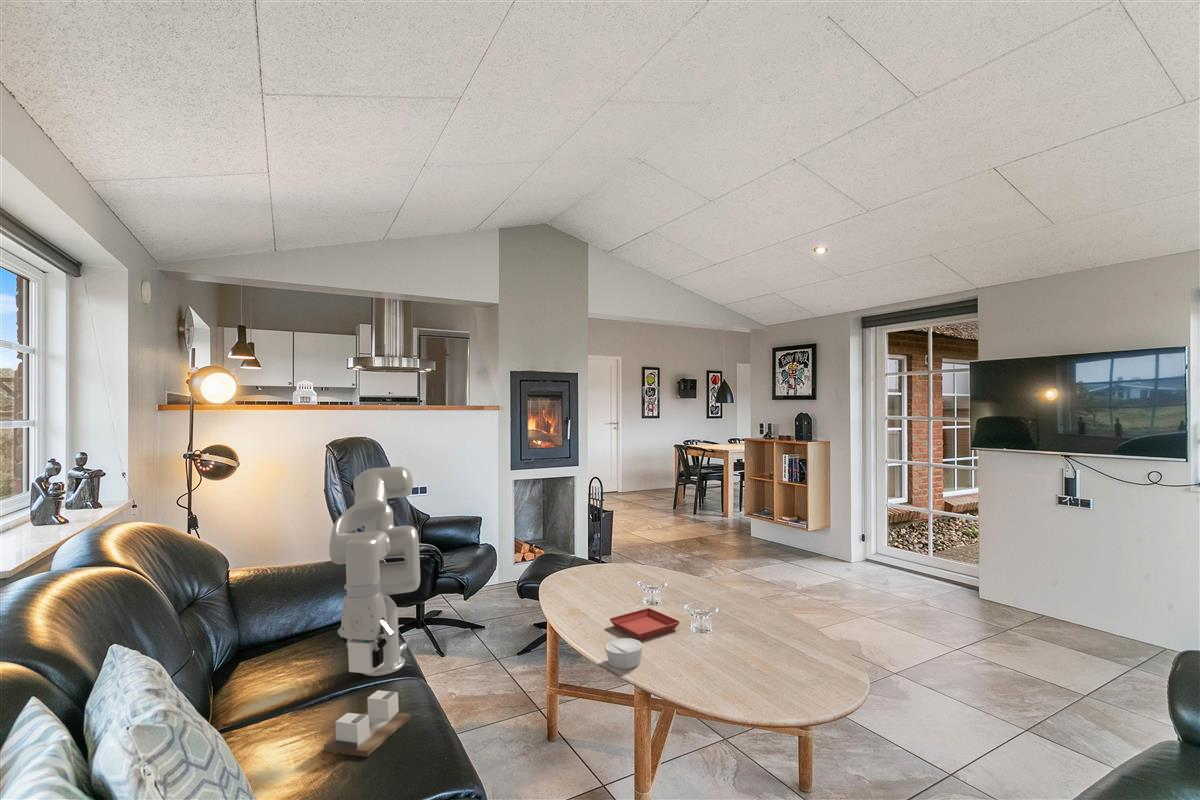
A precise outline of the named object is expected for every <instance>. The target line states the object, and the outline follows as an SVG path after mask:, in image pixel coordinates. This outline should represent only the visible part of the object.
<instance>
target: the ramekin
mask: <svg viewBox="0 0 1200 800" xmlns="http://www.w3.org/2000/svg"><path fill="white" fill-rule="evenodd" d="M643 646H644V645H643V643H642V642H641V641H640V640H639V639H636V638H630V637H628V638H627V637H623V638H622V637H620V638H615V639H612V640H610V641H608V642H607V643H606V644H605V646H604V650H605V652H606V656H607V661H608V663H609V665H610V666H611V667H613V668H615V669H618V670H629V669H633V668H636V667H637V666H639V664H640V663H641V661H642V653H643V652H642V651H643V649H644V648H643Z"/></svg>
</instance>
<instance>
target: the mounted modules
mask: <svg viewBox="0 0 1200 800" xmlns="http://www.w3.org/2000/svg"><path fill="white" fill-rule="evenodd" d="M366 700H367V711H368V715H363V714H364V713H362V714H361V713H353V712H347V713H345V714H344V715H342V716H341V717H340V718H338V719H337V720H336V721H335V723H334V724H335V736H336V740H339V741H347V742H354V743H357V746H358V745H359V744H361V743H362V742H363V741H364V740H365V739H367V738H368V737H369V736H370V732H369V718H377V719H385V720H389V719H390V718H392V717H393V716H394V715H395V714H396V713H398V712H399V713H400V707H399V693H398V691H397V692H396V691H395V692H394V691H389V690H388V691H387V690H379V689H378V690H376V691H375V692H374V693H372V694H370V696H367V699H366Z"/></svg>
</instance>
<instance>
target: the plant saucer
mask: <svg viewBox="0 0 1200 800" xmlns="http://www.w3.org/2000/svg"><path fill="white" fill-rule="evenodd" d="M609 621H610V623H611V624H612V625H613V626H614V627H615V628H616V627H617V628H616V629H618V628H619V629H618V630H620V631H622V632H624V633H626V634H628V635H629V636H632V637H634V639H636V640H638V641H640V640H641V641H642V640H645V639H648V638H652V637H655V636H658V635H661V634H664V633H668V632H671V631H674V630H675V629H676V628H677V627H678V626H679V625H680V623H681V621H680V620H678V619H676V618H673V617H671V616H669V615H666V614H664V613H661V612H659V611H657V610H655V609H653V608H650V607H649V608H647V607H646V608H643V609H640V610H636V611H632V612H629V613H625V614H621V615H618V616H614V617H611V618H609Z"/></svg>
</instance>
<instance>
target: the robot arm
mask: <svg viewBox="0 0 1200 800" xmlns="http://www.w3.org/2000/svg"><path fill="white" fill-rule="evenodd" d="M413 480H414V479H413V476H412V473H411V472H410V471H409V469H408V468H407V467H404V466H386V467H384V466H383V467H373V468H368V469H365V470H364V471H363V470H362V472H361V473H360V474H358V475H357V476H355V477H354V479H353V483H352V485H353V491H354V494H355V496H354V497H355V498H354V503H353V505H351V506H350V507H349V508H348V509H347V510H345V511H344V512H343V513H341V515H340V516H338V518H337V519H336V520H335V522H334V524H333V526H332V529H331V534H330V539H329V540H330V541H329V544H328V545H329V546H328V548H329V549H328V553H329V558H330V560H331V562H333V563H334V564H337V565H345V574H346V575H345V577H346V583H345V584H344V586H343V588H344V590H346V595H345V596H344V597H343V601H342V608H341V621H340V622H341V623H340V624H341V626H340V627H339V628H338V630H337V634H338V636H340V638H341V639H342V641H343V642H344V643H345V646H346V649H348V642H349V641H351V640H354V639H355V640H368V641H372V644H373V647H374V651H372V655H373V667H374V668H376V667H378V666H379V665H381V664H382V663H383V660H384V665H382V666H381V667H379V668H378V669H376V670H375V671H374V672H372V673H371V674H367V673H361V674H363V675H364V676H367V677H368V676H369V677H379V676H385V675H389V674H393V673H395V672H397V671H399V670H400V669H402V668H403V667H404V665H405V663H406V659H405V657H403V656H402V652H403V651H404V650H405V651H406V649H407V648H408V644H407V643H405V642H403V643H402V644H400V643H399V617H398V616H399V615H398V607H397V604H396V602H395V601H394V600H393V598H391V597H390V595H398V594H405V593H412V592H415V591H417V590H418V589H419V587H420V584H421V567H420V566H421V561H420V557H421V555H420V538H419V534H418V530H417V529H416V527H414V526H412V525H399V526H397V525H396V526H395V525H394V524H395V523H394V510H393V508H392V507H391V506H390V505H389V503H388V499H393V498H394V499H396V498H397V499H398V498H406V497H408V496H410V495H411V494H412V491H413V487H414V481H413ZM363 527H364V531H356V530H358V529H360V528H363ZM354 531H356V532H354ZM395 558H403V559H404V560H402V561H393V562H382V563H380V561H381V560H386V559H395ZM377 638H378V641H379V643H378V641H377Z"/></svg>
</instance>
